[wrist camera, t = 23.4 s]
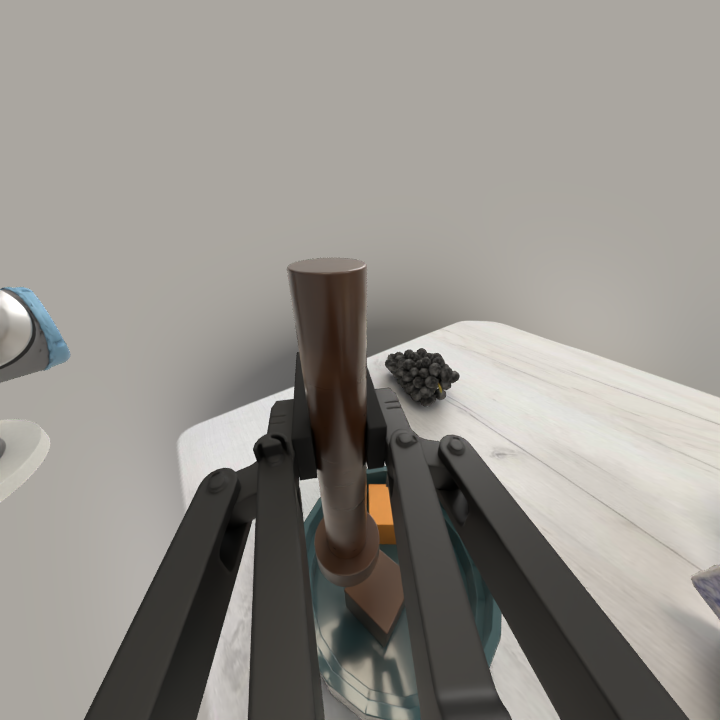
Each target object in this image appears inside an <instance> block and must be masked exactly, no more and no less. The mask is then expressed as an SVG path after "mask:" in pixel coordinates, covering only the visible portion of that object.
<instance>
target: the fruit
mask: <svg viewBox="0 0 720 720" xmlns="http://www.w3.org/2000/svg"><path fill="white" fill-rule="evenodd" d="M387 359H388V360H386V362H385V366H386V367H387V368H388V369H389V370H390V372H391V373H392V374H393V376H394V377H396V378H398V384H400V385H401V386H402V388H403V389H405V392H406V393H407V394H411V398H412V399H413V400H416V401H418V400H421V404H422V405H423V406H430V405H431V404H433V403H434V402H435V400H436V398H437V399H439V400H442V399H444V398H445V397H446V392H445V391H444V390H448V389H449V388H451V383H454V382H456V381H457V380H458V379H459V374H458V373H457V372H456V371H452V369H451V368H450V367H449V366H448V365H447V364H445V362H444V359H443V358H442V356H441V355H440V354H439V353H434V354H431V353H427V352H426V350H425V349H423V348H421V349H419V350H417V352H413V351H412V350H407V351H405V353H404V355H403V353H401V352H397V353H395V354H390V355H388V358H387ZM437 385H438V386H437ZM437 388H438V389H437ZM434 391H435V392H434Z"/></svg>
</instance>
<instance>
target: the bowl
mask: <svg viewBox="0 0 720 720" xmlns="http://www.w3.org/2000/svg"><path fill="white" fill-rule="evenodd" d="M386 478H387V467H386V466H384V467H383V468H376V469H370V470H368V469H367V512H368V496H369V484H386ZM437 497H438V496H437ZM438 500H439V498H438ZM439 503H440V507H441V510H442V513H443V517H444V520H445V523H446V527H447V530H448V533H449V537H450V540H451V543H452V547H453V550H454V553H455V557H456V560H457V563H458V567H459V570H460V573H461V577H462V580H463V583H464V587H465V590H466V593H467V596H468V600H469V603H470V606H471V610H472V613H473V616H474V620H475V623H476V626H477V630H478V633H479V636H480V640H481V643H482V646H483V650H484V653H485V656H486V660H487V663H488V666H489V668H490V666H491V663H492V660H493V657H494V655H495V652H496V649H497V646H498V644H499V641H500V637H501V615H502V612H501V610H500V609H499V607H498V605H497V603H496V601H495V600H494V598H493V596H492V594H491V592H490V591H489V589H488V587H487V585H486V583H485V581H484V580H483V578H482V576H481V574H480V572H479V571H478V569H477V567H476V565H475V563H474V562H473V560H472V558H471V556H470V554H469V553H468V551H467V549H466V547H465V545H464V544H463V542H462V540H461V538H460V536H459V534H458V533H457V531H456V529H455V527H454V525H453V524H452V522H451V520H450V518H449V516H448V515H447V513H446V511H445V509H444V507H443V506H442V504H441V502H440V500H439ZM323 517H324V514H323V507H322V501H321V497H320V498H319V499H318V501H317V503H316V504H315V506H314V507H313V509H312V510H311V512H310V514H309V515H308V517H307V518H306V520H305V522H304V530H305V539H306V549H307V558H308V568H309V577H310V586H311V596H312V605H313V615H314V624H315V633H316V643H317V652H318V662H319V671H320V674H321V676H322V678H323V680H324V681H325V683H326V685H327V686H328V688H329V690H330V692H331V693H332V695H333V696H335V697H336V698H337V699H338V700H339V701H340V702H342V703H343V704H344V705H345V706H346V707H348V708H349V709H350V710H351V711H352V712H354V713H355V714H356V715H357V716H358V717H359V718H361V719H362V720H421V715H420V705H419V698H418V691H417V684H416V677H415V670H414V663H413V656H412V649H411V642H410V635H409V629H408V622H407V615H406V608H405V606H404V608H403V610H402V613H401V615H400V617H399V619H398V621H397V623H396V625H395V628H394V630H393V632H392V634H391V636H390V638H389V640H388V642H387V645H386V647H383V646H382V645H381V644H380V643H379V641H378V640H377V639H376V638H375V637H374V636H373V635H372V634H371V633H370V632H369V631H368V630H367V629H366V628H365V627H364V625H363V624H362V623H361V622H360V621H359V620H358V619H357V618H356V617H355V616H354V615H353V614H352V613H351V612H350V610H349V609H348V608H347V607H346V602H345V593H344V589H345V588H346V587H341V586H337V585H335V584H333V583H331V582H330V581H329V580H327V579H326V578H325V576H324V575H323V574H322V572H321V570H320V568H319V565H318V562H317V557H316V552H315V545H314V540H315V533H316V530H317V527H318V525H319V523H320V521H321V520H322V519H323ZM379 549H380V550H381V551H382V552H383V553H385V554H386V555H387V556H388V557H389V558H390V559H392V560H393V561H394V562H395V563H396V564H398V565H399V559H398V552H397V545H396V544H379Z"/></svg>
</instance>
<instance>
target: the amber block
mask: <svg viewBox="0 0 720 720" xmlns="http://www.w3.org/2000/svg"><path fill="white" fill-rule="evenodd" d="M368 513H369V514H370V515H371V516H372V517H373V519H374V520H375V522H376V524H377V527H378V530H379V538H380V542H379V544H396V539H395V532H394V525H393V518H392V511H391V504H390V497H389V490H388V487H386V484H369V496H368Z"/></svg>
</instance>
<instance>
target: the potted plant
mask: <svg viewBox="0 0 720 720" xmlns="http://www.w3.org/2000/svg"><path fill="white" fill-rule="evenodd" d="M691 580H692V583H693V585H694V587H695V588H696V590H697V591H698V592H699V593H700V595H701V596H702V597H703V599H704V600H705V601H706V603H707V604H708V605H709V606H710V608H711V609H712V610H713V612H714V613H715V614H716V615H717V617H718V618H719V620H720V565H714V566H712V567H711V568H709V569H707V570H704V571H700V572H697V573H696V574H694V575H692V576H691Z"/></svg>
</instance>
